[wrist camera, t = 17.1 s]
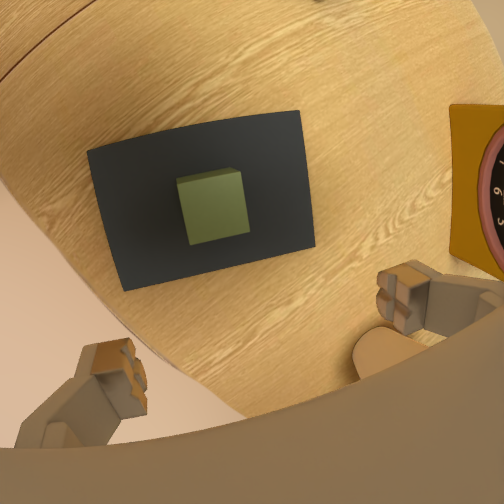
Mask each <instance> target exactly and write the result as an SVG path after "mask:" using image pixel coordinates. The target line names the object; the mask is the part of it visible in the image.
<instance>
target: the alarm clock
mask: <svg viewBox="0 0 504 504" xmlns="http://www.w3.org/2000/svg"><path fill="white" fill-rule="evenodd" d="M449 112H450V124H451V139H452V167H453V192H452V220H451V236H450V248H449V253H450V254H451V255H453V256H455V257H457V258H459V259H461V260H463V261H465V262H467V263H469V264H471V265H473V266H475V267H477V268H479V269H481V270H482V271H484V272H486V273H488V274H490V275H492V276H494V277H496V278H497V279H499V280H501V281H503V282H504V105H481V104H452V105H450V107H449Z"/></svg>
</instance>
